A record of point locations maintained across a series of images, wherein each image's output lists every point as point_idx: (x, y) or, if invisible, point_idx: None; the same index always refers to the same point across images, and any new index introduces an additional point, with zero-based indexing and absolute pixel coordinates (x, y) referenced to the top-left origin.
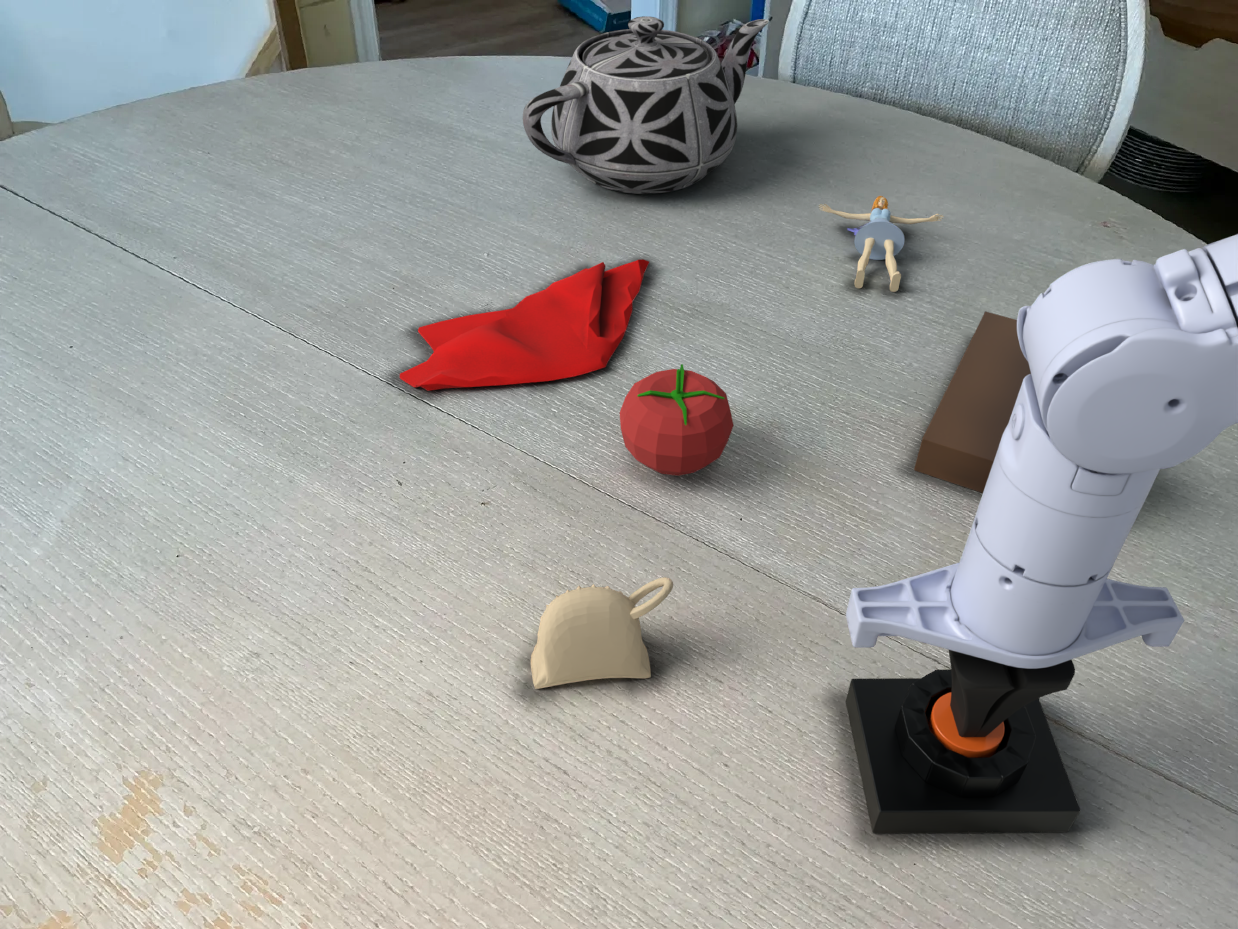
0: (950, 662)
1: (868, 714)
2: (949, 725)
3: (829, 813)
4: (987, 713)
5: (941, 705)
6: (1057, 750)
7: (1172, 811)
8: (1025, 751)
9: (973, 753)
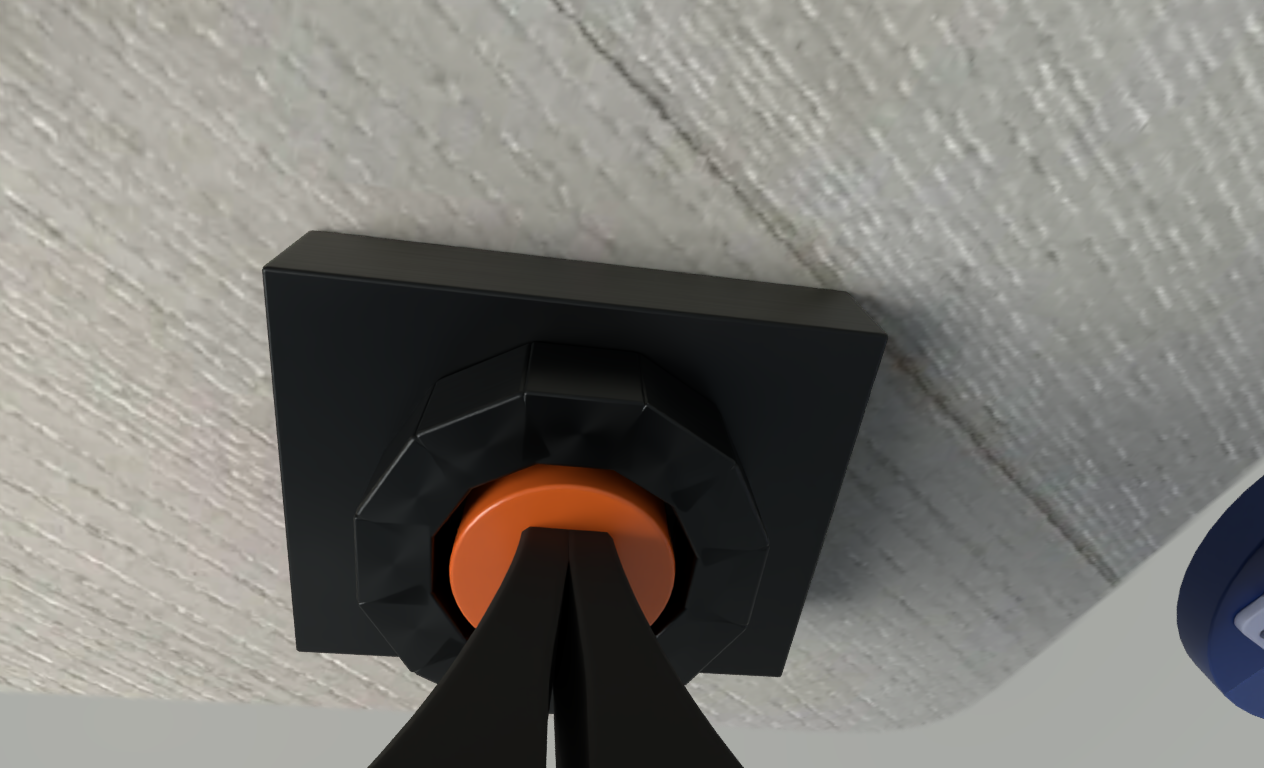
0: (462, 649)
1: (303, 407)
2: (494, 592)
3: (232, 527)
4: (558, 757)
5: (491, 530)
6: (817, 554)
7: (1003, 581)
8: (691, 665)
9: None
